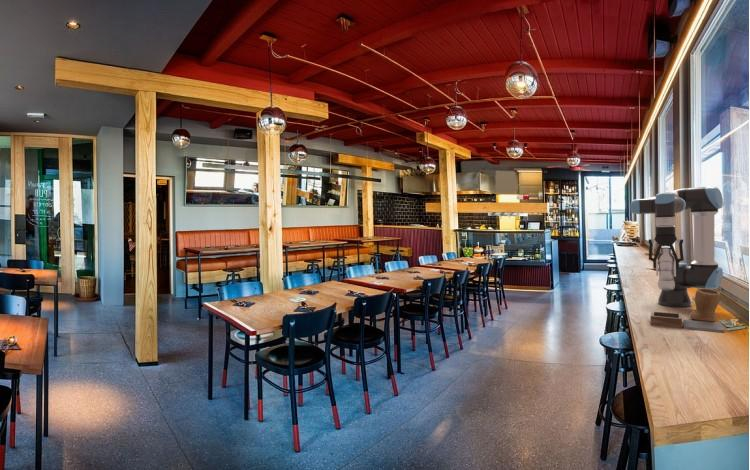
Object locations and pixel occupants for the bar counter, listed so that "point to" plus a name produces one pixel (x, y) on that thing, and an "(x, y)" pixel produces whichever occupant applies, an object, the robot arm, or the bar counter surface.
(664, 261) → the plastic bottle
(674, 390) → the bar counter surface
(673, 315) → the walnut holder
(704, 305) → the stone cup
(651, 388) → the bar counter surface
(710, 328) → the slate plate
